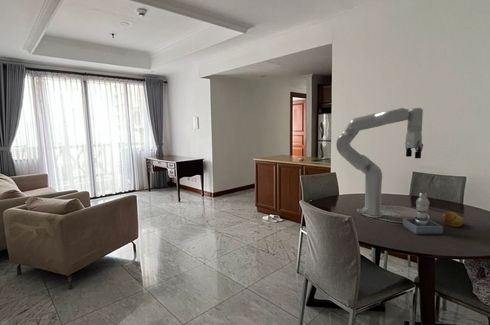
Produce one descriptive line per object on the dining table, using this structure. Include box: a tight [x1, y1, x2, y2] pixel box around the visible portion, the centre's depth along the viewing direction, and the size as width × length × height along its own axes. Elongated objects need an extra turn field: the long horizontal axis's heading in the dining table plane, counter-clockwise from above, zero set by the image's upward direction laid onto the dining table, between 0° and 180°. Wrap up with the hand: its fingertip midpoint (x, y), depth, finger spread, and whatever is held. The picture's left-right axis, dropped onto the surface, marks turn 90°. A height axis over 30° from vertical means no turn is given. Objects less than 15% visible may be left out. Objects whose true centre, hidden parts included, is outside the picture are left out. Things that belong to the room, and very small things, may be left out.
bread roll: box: [441, 211, 464, 228], centre depth 165 cm, size 13×10×8 cm
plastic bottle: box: [415, 191, 430, 227], centre depth 158 cm, size 6×7×20 cm
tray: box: [401, 217, 444, 235], centre depth 159 cm, size 14×14×4 cm
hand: (413, 157), depth 173 cm, fingers open, 9 cm apart
